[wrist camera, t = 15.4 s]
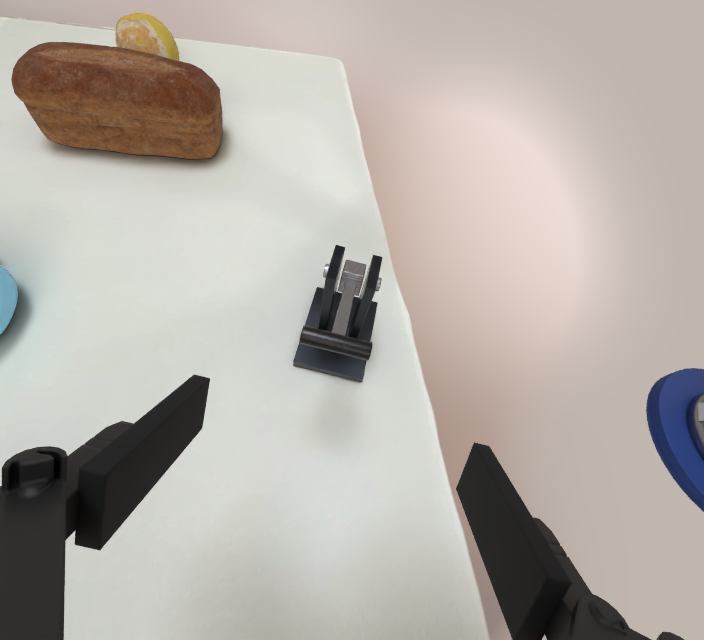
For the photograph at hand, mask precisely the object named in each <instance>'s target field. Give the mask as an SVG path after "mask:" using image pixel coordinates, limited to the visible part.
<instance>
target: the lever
mask: <svg viewBox="0 0 704 640" xmlns="http://www.w3.org/2000/svg"><path fill="white" fill-rule="evenodd" d="M365 269H366V265H365V264H362V263H358V262H354V261H350V260H346V262H345V265H344V269H343V272H342V276H341V280H340V285H339V289H338V291H341V292H343V293H342V297H341V300H340V304H339V308H338V311H337V315H336V318H335V322H334V326H333V329H332V332H329V331H325V330H321V329H317V328H313V327H309V326H304V327H303V329H302V332H301V336H300V344H304V345H308V346H312V347H316V348H320V349H324V350H328V351H332V352H336V353H340V354H344V355H348V356H352V357H356V358H360V359H364V360H368V359H369V357H370V354H371V350H372V342H368V341H364V340H360V339H356V338H352V337H348V336H345V334H346V330H347V325H348V320H349V316H350V311H351V307H352V302H353V298H354V295H356V296H359V293H360V289H361V286H362V282H363V279H364V274H365Z"/></svg>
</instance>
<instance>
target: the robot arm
mask: <svg viewBox="0 0 704 640" xmlns="http://www.w3.org/2000/svg"><path fill="white" fill-rule="evenodd" d="M209 382H210V378H206V377H202V376H198V375H193V376H192V377H191V378H189V379H188V380H187V381H186V382H185V383H183V384H182V385H181V386H180V387H178V388H177V389H176V390H175V391H174V392H172V393H171V394H170V395H169V396H167V397H166V398H165V399H164V400H162V401H161V402H160V403H159V404H158V405H156V406H155V407H154V408H153V409H151V410H150V411H149V412H148V413H147V414H145V415H144V416H143V417H142V418H140V419H139V420H138V421H137V422H136V423H134V424H132V423H128V422H124V421H121V422H118V423H116V424H113V425H111V426H108V427H106V428H105V429H104V430H102V431H101V432H100V433H98V434H97V435H95V437H94V438H91V439H90V440H89V441H87V442H86V443H85V445H82V446H81V447H79V448H78V449H77V450H75V451H74V452H73V453H71V454H70V455H69V456H67V454H66V451H64V450H62V449H60V448H57V447H50V446H48V447H37V448H33V449H29V450H25V451H23V452H20V453H18V454H16V455H14V456H13V457H11V458H10V459H9V460H7V461H6V462H5V464H4V465H3V467H2V486H0V640H64V586H65V540H66V539H67V538H68V537H69V536H70V535H71V534H72V533H73V532H74V531H75V530H76V533H75V545H79V546H83V547H88V548H92V549H97V550H101V548H102V547H103V546H104V545H105V544H106V543H107V541H108V540H109V539H110V538H111V537H112V535H113V534H114V533H115V532H116V531H117V529H118V528H119V527H120V526H121V525H122V523H123V522H124V521H125V520H126V519H127V517H128V516H129V515H130V514H131V513H132V511H133V510H134V509H135V508H136V507H137V505H138V504H139V503H140V502H141V501H142V500H143V498H144V497H145V496H146V495H147V494H148V492H149V491H150V490H151V489H152V488H153V486H154V485H155V484H156V483H157V482H158V480H159V479H160V478H161V477H162V476H163V474H164V473H165V472H166V471H167V470H168V468H169V467H170V466H171V465H172V464H173V463H174V461H175V460H176V459H177V458H178V457H179V455H180V454H181V453H182V452H183V451H184V449H185V448H186V447H187V446H188V445H189V443H190V442H191V441H192V440H193V439H194V437H195V436H196V435H197V434H198V433H199V431H200V430H201V429H202V426H203V420H204V413H205V407H206V401H207V394H208V388H209ZM686 419H687V426H688V430H689V433H690V436H691V439H692V441H693V444H694V446H695V448H696V449H697V451H698V453H699V455H700V456H701V458H702V459H703V461H704V393H701V394H699V395H697V396H695V397H694V398H693V399H692V400H691V401H690V403H689V405H688V408H687V414H686ZM456 490H457V492H458V495H459V498H460V500H461V503H462V506H463V509H464V511H465V514H466V517H467V519H468V522H469V525H470V527H471V530H472V533H473V535H474V538H475V541H476V543H477V546H478V549H479V551H480V554H481V557H482V559H483V562H484V565H485V567H486V570H487V572H488V575H489V578H490V580H491V583H492V586H493V589H494V591H495V594H496V597H497V599H498V602H499V605H500V607H501V610H502V613H503V615H504V618H505V621H506V623H507V626H508V628H509V631H510V634H511V637H512V639H513V640H542V638H543V636H544V634H545V636H546V638H547V640H651V639H649V638H647V637H645V636H643V635H641V634H639V633H638V632H636V631H634V630H632V629H630V628H629V626H628V625H627V623H626V622H625V620H624V618H623V617H622V616H621V615H620V614H619V613H618V612H617V610H615V608H613V607H612V606H611V605H610V604H609V603H607V602H606V601H605V600H603V599H601V598H600V597H598V596H596V595H593V594H592V593H591V591H590V590H589V588H588V587H587V585H586V584H585V582H584V581H583V579H582V577H581V576H580V574H579V573H578V571H577V570H576V568H575V567H574V565H573V564H572V562H571V560H570V559H569V557H567V555H566V553H565V551H564V550H563V548H562V547H561V546H560V544H559V542H558V540H557V539H556V537H555V536H554V534H553V533H552V531H551V530H550V529H549V528H548V527H547V526H546V525H545V524H544V523H543V522H542V521H541V520H540V519H538V518H533V517H532V516H531V514H530V513H529V511H528V510H527V508H526V506H525V505H524V503H523V501H522V499H521V498H520V496H519V495H518V493H517V491H516V490H515V488H514V486H513V485H512V483H511V481H510V480H509V478H508V476H507V475H506V473H505V471H504V470H503V468H502V467H501V465H500V463H499V462H498V460H497V458H496V457H495V455H494V453H493V452H492V450H491V449H490V447H489V446H486V445H482V444H478V443H474V444H473V447H472V449H471V452H470V455H469V457H468V460H467V463H466V465H465V467H464V470H463V472H462V475H461V478H460V480H459V483H458V485H457V488H456ZM657 640H684V639H682V638H681V637H679V636H677V635H675V634H672V633H670V632H662V633H661V634H660V635H659V637H658V638H657Z"/></svg>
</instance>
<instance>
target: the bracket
mask: <svg viewBox="0 0 704 640" xmlns="http://www.w3.org/2000/svg"><path fill="white" fill-rule="evenodd" d="M344 251H345V247H342V246H338V245H336V246H335V249H334V253H333V256H332V259H331V262H330V265H329V264H326V265H325V269H324V273H323V277H326V280H325V287H324V289H323V288H319V287H317V289H316V292H315V295H314V299H313V302H312V305H311V308H310V311H309V314H308V317H307V321H306V324H305V326H309V327H313V328H317V329H321V330H325V331H329V332H332V329H333V326H334V322H335V318H336V315H337V311H338V308H339V304H340V300H341V297H342V293H338V292H336V289H337V284H338V280H339V275H340V270H341V265H342V260H343V255H344ZM381 261H382V257H380V256H376V255H373V257H372V260H371V263H370V266H369V269H368V272H367V275H366V279H365V282H364V285H363V288H362V291H361V294H360V297H359V298H358V297H354V298H353V302H352V307H351V311H350V316H349V320H348V325H347V330H346V334H345V336H348V337H352V338H356V339H360V340H364V341H368V342H370V339H371V334H372V329H373V323H374V318H375V313H376V308H377V302H373V301H372V299H373V296H374V293H375V291H379V288H380V285H381V280H382V278H379V277H378V276H379V271H380V266H381ZM293 365H294V366H298V367H302V368H306V369H310V370H314V371H318V372H322V373H326V374H330V375H334V376H338V377H342V378H346V379H350V380H354V381H358V382H361V381H362V379H363V375H364V370H365V365H366V360H364V359H360V358H356V357H352V356H348V355H344V354H340V353H336V352H332V351H328V350H324V349H320V348H316V347H312V346H308V345H304V344H300V343H299V346H298V349H297V352H296V355H295V358H294V363H293Z"/></svg>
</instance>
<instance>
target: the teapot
mask: <svg viewBox="0 0 704 640" xmlns="http://www.w3.org/2000/svg"><path fill="white" fill-rule="evenodd" d="M17 298H18V291H17V287H16V283H15V281H14V279H13V277H12V275H11V274H10V273H9V272H8V270H6V269H5V268H4V267H3V266H1V265H0V335H1V333H2V332H3V331H4V330H5V328H6V327H7V325H8V324H9V322H10V320H11V318H12V316H13V314H14V311H15V308H16V304H17Z"/></svg>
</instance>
